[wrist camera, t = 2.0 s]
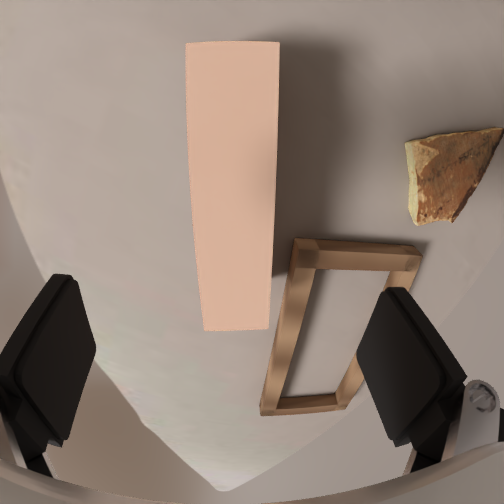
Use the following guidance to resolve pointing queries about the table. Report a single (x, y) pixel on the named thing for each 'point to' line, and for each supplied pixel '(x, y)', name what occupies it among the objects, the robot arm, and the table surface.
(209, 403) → the table surface
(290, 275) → the brown wooden frame
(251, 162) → the pink rectangular block
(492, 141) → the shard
